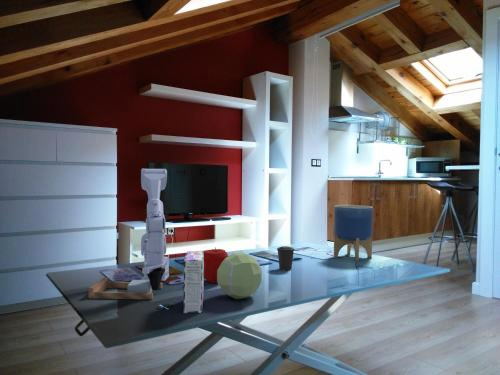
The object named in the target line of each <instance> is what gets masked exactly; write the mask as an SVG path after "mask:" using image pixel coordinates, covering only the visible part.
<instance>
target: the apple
mask: <svg viewBox="0 0 500 375" xmlns="http://www.w3.org/2000/svg"><path fill="white" fill-rule="evenodd" d="M203 252H204V279H205V280H206V281H207V282H208V283H211V284H218V282H217V270H218V269H219V267H220V265H221V263H222V261H224V259H225V258H227V257H228V256H229V254H228V253H227V251H226V250H225V249H222V248H217V247H214V249H207V250H203Z"/></svg>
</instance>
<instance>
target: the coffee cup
mask: <svg viewBox="0 0 500 375" xmlns="http://www.w3.org/2000/svg"><path fill="white" fill-rule="evenodd" d="M276 250H277V258H278V267H279V270H281V271H291V270H292V268H293V267H292V266H293V260H294V251H295V248H294V247H292V246H285V245H284V246H282V245H281V246H279V247H277V248H276Z"/></svg>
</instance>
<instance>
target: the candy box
mask: <svg viewBox="0 0 500 375" xmlns="http://www.w3.org/2000/svg"><path fill="white" fill-rule="evenodd" d="M204 279H205V278H204V250H200V251H199V250H196V251H195V250H193V251H189V250H188V251H186V254H185V256H184V260H183V314H202V313H201V312H203V304H204V288H205V287H204V283H205V282H204V281H205V280H204Z"/></svg>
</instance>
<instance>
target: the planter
mask: <svg viewBox="0 0 500 375" xmlns="http://www.w3.org/2000/svg"><path fill="white" fill-rule="evenodd" d="M333 207H334V212H333V213H334V214H333V217H334V218H333V234H334V235H333V257H334V258H339V253H340V251H341V250H342V248H343V247H345V246H346V253H347V255H351V250H352V246H353V250H354V261H355V262H356V263H357V262H360V246H361V247H362V248H363V249H364V250H365V253H366V257H367V258H368V259H372V258H373V256H372V255H373V236H374V234H373V233H374V232H373V231H374V229H373V228H374V207H373V206H370V205H361V204H360V205H359V204H358V205H357V204H335V205H334V206H333Z"/></svg>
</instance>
